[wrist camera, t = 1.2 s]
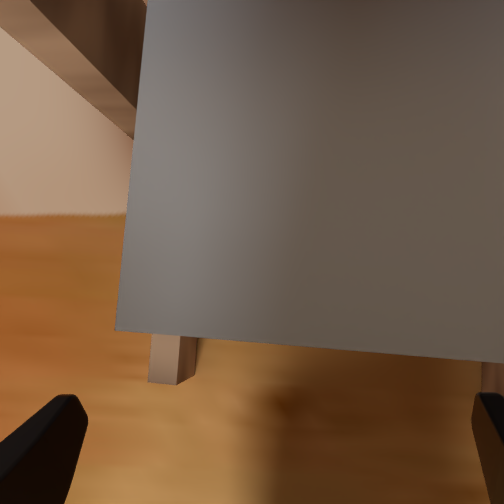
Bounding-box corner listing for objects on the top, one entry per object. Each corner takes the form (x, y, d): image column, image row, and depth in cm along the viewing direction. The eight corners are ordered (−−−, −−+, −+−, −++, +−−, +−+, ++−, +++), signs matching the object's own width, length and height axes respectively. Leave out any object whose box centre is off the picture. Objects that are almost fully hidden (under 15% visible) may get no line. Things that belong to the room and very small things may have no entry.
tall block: (440, 330, 22) (621, 373, 9) (233, 315, 24) (114, 330, 11) (443, 162, 23) (612, -38, 10) (244, 160, 25) (148, -10, 12)
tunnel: (514, 407, 21) (1188, 781, 5) (168, 372, 24) (-167, 521, 8) (514, 117, 23) (1017, -377, 6) (190, 119, 26) (-49, -206, 9)
